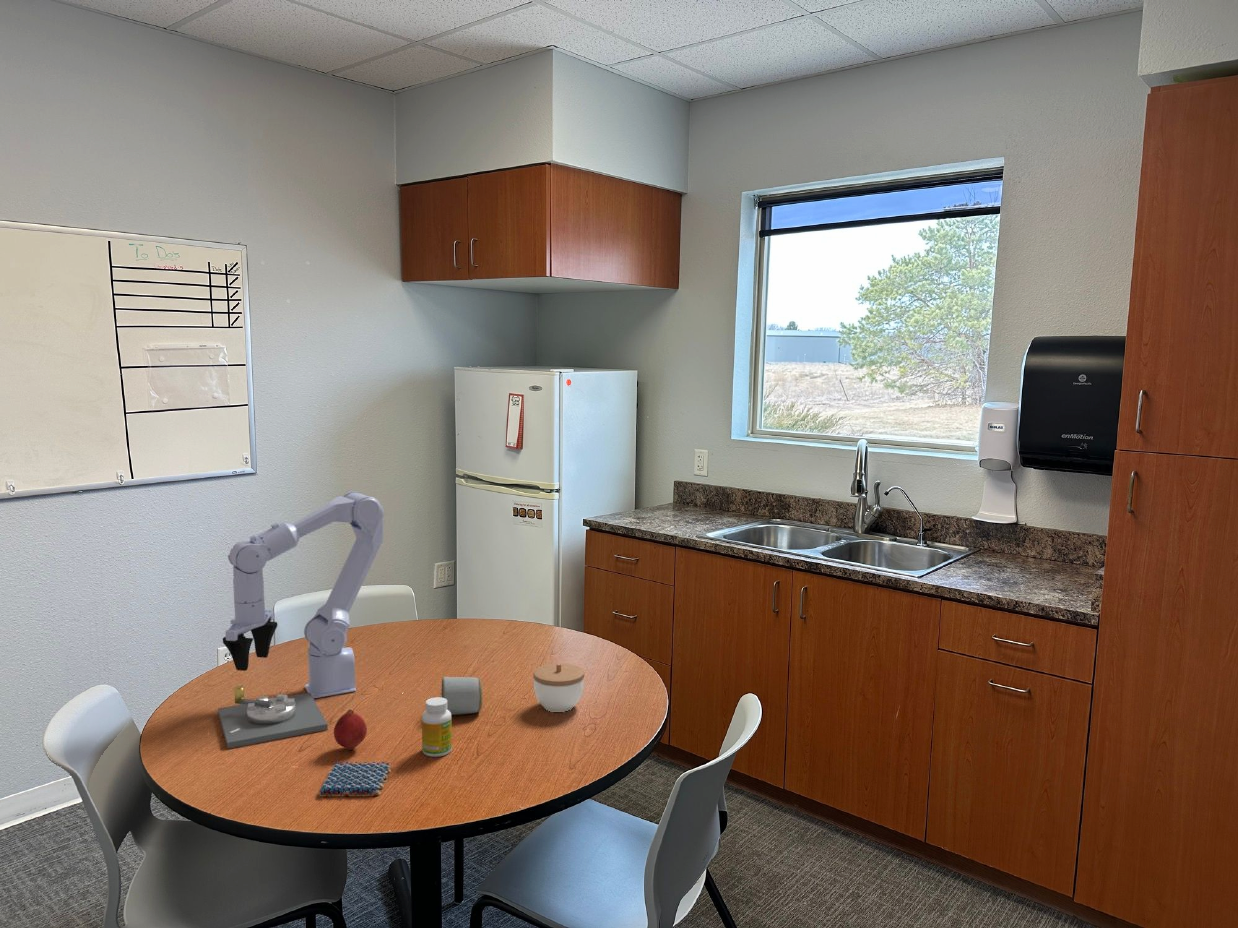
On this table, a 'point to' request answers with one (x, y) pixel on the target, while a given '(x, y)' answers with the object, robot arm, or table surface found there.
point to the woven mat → (355, 779)
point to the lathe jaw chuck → (266, 708)
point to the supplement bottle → (436, 728)
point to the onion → (350, 730)
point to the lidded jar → (558, 686)
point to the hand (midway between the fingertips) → (252, 663)
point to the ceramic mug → (462, 694)
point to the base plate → (247, 733)
